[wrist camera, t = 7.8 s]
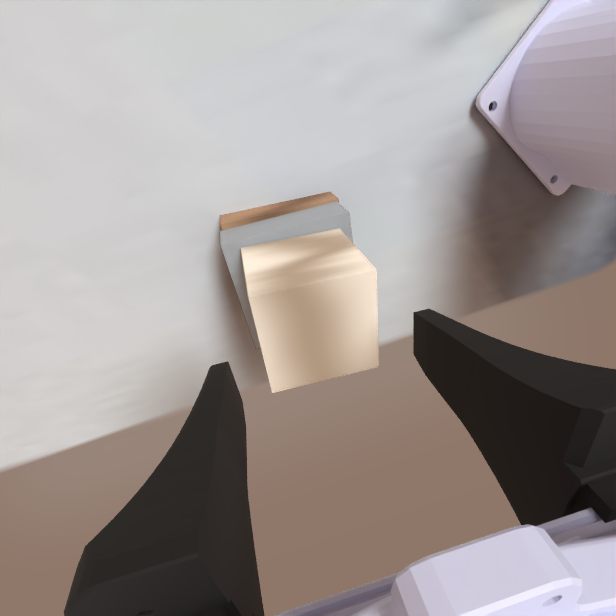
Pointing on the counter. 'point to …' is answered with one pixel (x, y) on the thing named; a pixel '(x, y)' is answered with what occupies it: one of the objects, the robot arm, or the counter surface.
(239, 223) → the tower base block
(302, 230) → the tower top block
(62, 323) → the counter surface
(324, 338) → the ash cube
